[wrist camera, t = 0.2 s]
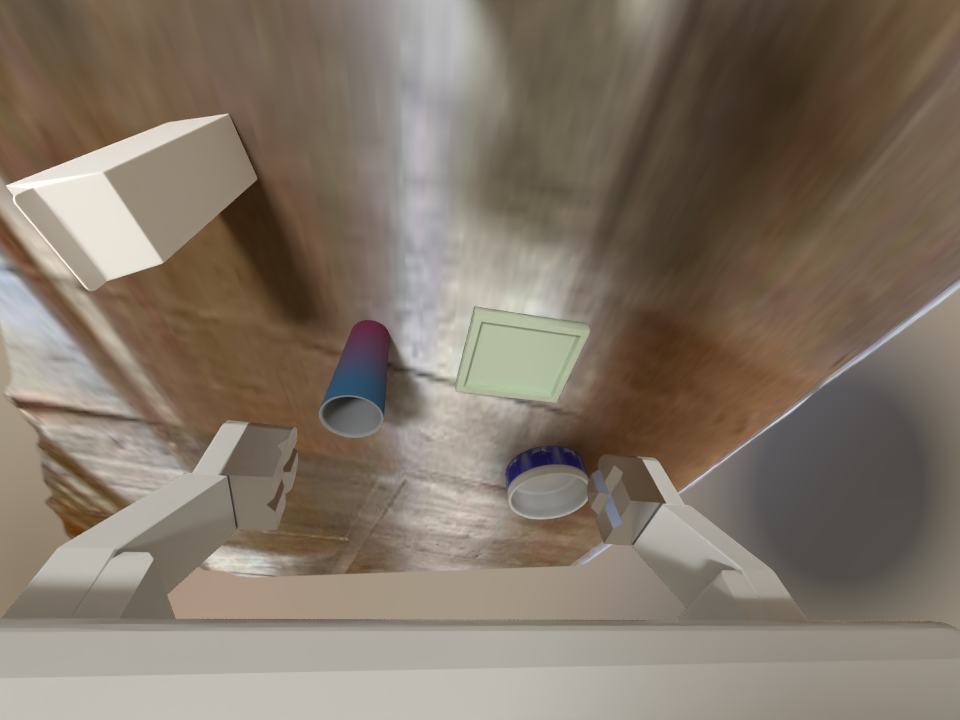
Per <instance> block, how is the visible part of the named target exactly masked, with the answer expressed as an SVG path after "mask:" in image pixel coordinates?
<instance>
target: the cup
mask: <svg viewBox="0 0 960 720" xmlns="http://www.w3.org/2000/svg"><path fill="white" fill-rule="evenodd" d="M388 347H389V333H388V331H387V329H386V328H385V327H384V326H383V325H382V324H380V323H378V322H376V321H371V320H365V321H361V322H359V323H357V324H356V325H355V326H354V327H353V329H352V331H351V333H350V336H349V338H348V341H347V343H346V346H345V348H344V351H343V353H342V356H341V358H340V360H339V363H338V365H337V368H336V370H335V373H334V375H333V378H332V380H331V383H330V385H329V388H328V390H327V393H326V395H325V397H324V400H323V402H322V405H321V407H320V411H319V418H320V420H321V422H322V424H323V425H324V426H325V427H326V428H327V429H328V430H329V431H331V432H333V433H335V434H337V435H340V436H343V437H348V438H362V437H367V436H370V435H372V434H374V433H376V432H377V431H378V430H380V428H381V427H382V425H383V423H384V410H385V395H386V379H387V363H388Z"/></svg>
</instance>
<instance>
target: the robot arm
mask: <svg viewBox="0 0 960 720" xmlns="http://www.w3.org/2000/svg"><path fill="white" fill-rule="evenodd" d="M296 440H297V431H296V428H295V427H289V426H280V425H271V424H262V423H253V422H251V423H249V422H240V421H231V420H228V421H227V422H225V423H224V424H223V425H222V426H221V428H220V429H219V431H218V433H217V434H216V436H215V437H214V439H213V441H212V442H211V444H210V445H209V447H208V449H207V450H206V452H205V453H204V455H203V457H202V458H201V460H200V461H199V463H198V465H197V466H196V468H195V469H194V471H193V473H184V474H182V475H181V476H179V477H177V478H176V479H174V480H172V481H170V482H169V483H167V484H165V485H164V486H162V487H160V488H159V489H157V490H155V491H153V492H152V493H150V494H148V495H147V496H145V497H143V498H142V499H140V500H138V501H137V502H135V503H133V504H131V505H130V506H128V507H126V508H125V509H123V510H121V511H120V512H118V513H116V514H114V515H113V516H111V517H109V518H108V519H106V520H104V521H103V522H101V523H99V524H98V525H96V526H94V527H92V528H91V529H89V530H87V531H86V532H84V533H82V534H81V535H79V536H77V537H75V538H74V539H72V540H70V541H69V542H67V543H65V544H64V545H62V546H60V547H59V548H58V549H57V550H56V551H55V553H54V554H53V555H52V556H51V557H50V559H49V560H48V561H47V562H46V564H45V565H44V566H43V567H42V568H41V570H40V571H39V572H38V574H37V575H36V576H35V577H34V578H33V580H32V581H31V582H30V583H29V585H28V586H27V587H26V588H25V589H24V591H23V592H22V593H21V594H20V595H19V597H18V598H17V599H16V600H15V602H14V603H13V604H12V605H11V607H10V608H9V609H8V610H7V612H6V613H5V614H4V615H3V616H2V618H0V720H960V629H958V628H956V627H954V626H952V625H949V624H946V623H942V622H935V621H807V619H806V618H805V616H804V615H803V613H802V612H801V611H800V609H799V608H798V606H797V605H796V603H795V602H794V600H793V599H792V597H791V596H790V595H789V593H788V592H787V590H786V589H785V587H784V586H783V584H782V583H781V582H780V580H779V579H778V577H777V576H776V574H775V573H774V572H773V571H772V570H771V569H770V568H769V567H768V566H766V565H765V564H764V563H762V562H761V561H760V560H759V559H757V558H756V557H755V556H754V555H752V554H751V553H750V552H748V551H747V550H746V549H745V548H743V547H742V546H740V545H739V544H738V543H737V542H736V541H734V540H733V539H732V538H731V537H729V536H728V535H727V534H725V533H724V532H723V531H721V530H720V529H719V528H718V527H716V526H715V525H714V524H713V523H711V522H710V521H709V520H708V519H706V518H705V517H704V516H702V515H701V514H700V513H699V512H697V511H696V510H695V509H693V508H692V507H691V506H687V505H684V503H683V501H682V500H681V498H680V497H679V495H678V493H677V491H676V490H675V488H674V486H673V485H672V483H671V481H670V480H669V478H668V476H667V475H666V473H665V471H664V470H663V468H662V466H661V465H660V463H659V461H658V460H656V459H655V458H651V457H635V456H624V455H611V454H604V455H603V456H601V457H600V459H599V461H598V463H597V464H598V467H599V470H597V471H596V472H594V473H593V474H591V476H590V479H589V481H588V485H587V497H588V501H589V504H590V507H591V508H592V509H593V510H594V511H595V512H596V513H597V514H598V517H597V520H596V523H597V526H598V529H599V531H600V534H601V537H602V539H603V542H604V544H616V545H630V546H633V549H634V550H635V551H636V552H637V553H638V554H639V555H640V557H641V558H642V559H643V560H644V561H645V562H646V563H647V564H648V566H649V567H650V568H651V569H652V570H653V571H654V572H655V574H656V575H657V576H658V577H659V578H660V579H661V580H662V581H663V583H664V584H665V585H666V586H667V587H668V588H669V589H670V591H671V592H672V593H673V594H674V595H675V596H676V597H677V598H678V600H679V601H680V602H681V603H682V604H683V605H684V606H685V607H686V609H685V610H684V612H682V614H681V615H680V616H679V617H678V618H677V619H676V620H420V619H419V620H417V619H415V620H414V619H411V620H410V619H408V620H405V619H402V620H401V619H395V620H394V619H377V620H376V619H176V618H175V615H174V613H173V610H172V607H171V604H170V602H169V599H168V596H167V594H168V593H170V592H171V591H172V590H173V589H174V588H175V587H176V586H177V585H178V584H179V583H181V582H182V581H183V580H184V579H185V578H186V577H187V576H188V575H189V574H190V573H191V572H193V571H194V570H195V569H196V568H197V567H198V566H199V565H200V564H201V563H203V562H204V561H205V560H206V559H207V558H208V557H209V556H210V555H211V554H212V553H214V552H215V551H216V550H217V549H218V548H219V547H220V546H221V545H222V544H223V543H225V542H226V541H227V540H228V539H229V538H230V537H231V536H232V535H233V534H234V533H236V532H237V530H236V529H258V530H277V527H278V525H279V522H280V519H281V516H282V514H283V511H284V508H285V494H286V493H287V492H289V491H290V490H291V488H292V485H293V482H294V479H295V474H296V470H297V461H298V451H297V450H296V449H295V448H294V445H295V443H296Z"/></svg>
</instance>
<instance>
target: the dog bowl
mask: <svg viewBox="0 0 960 720" xmlns="http://www.w3.org/2000/svg"><path fill="white" fill-rule="evenodd" d="M505 475H506V488H507V497H508V504H509V506H510V508H511V509H512V510H513V511H514V512H515V513H517V514H518V515H520V516H523V517H526V518H530V519H552V518H558V517H561V516H565V515H567V514H570V513H572V512H574V511H576V510H578V509H579V508H581V507H582V506H583V505H584V504H585V503H586V502H587V501H588V497H587V485H588V481H589V478H588V475H587V473H586V470H585V467H584V464H583V462H582V459H581V458H580V456H579V455H578V454H577V453H575V452H574V451H572V450H570V449H567V448H563V447H557V446H546V447H539V448H535V449H531V450H528V451H526V452H524V453H522V454H520V455H518V456H517V457H516V458H514V459H513V460H512V461H511V462H510V463H509V465H508V467H507V469H506V473H505Z"/></svg>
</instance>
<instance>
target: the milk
mask: <svg viewBox="0 0 960 720" xmlns="http://www.w3.org/2000/svg"><path fill="white" fill-rule="evenodd" d="M256 180H257V176H256V174H255V171H254V169H253V167H252V165H251V162H250V160H249V158H248V156H247V153H246V151H245V149H244V147H243V144H242V142H241V140H240V138H239V135H238V133H237V131H236V129H235V126H234V124H233V122H232V120H231V117H230V115H229V114H223V115H216V116H209V117H202V118H196V119H189V120H182V121H175V122H168V123H165V124H163V125H160V126H158V127H155V128H153V129H150V130H147V131H145V132H142V133H140V134H137V135H135V136H132V137H129V138H127V139H124V140H122V141H119V142H117V143H114V144H112V145H109V146H106V147H104V148H101V149H99V150H96V151H94V152H91V153H88V154H86V155H83V156H81V157H78V158H76V159H73V160H71V161H68V162H65V163H63V164H60V165H58V166H55V167H53V168H50V169H48V170H45V171H42V172H40V173H37V174H35V175H32V176H30V177H27V178H24V179H22V180H19V181H17V182H14V183H12V184H9V185H7V186H6V187H7V188H8V189H9V191H10V192H11V193H12V194H13V195H14V197H13V202H14V204H15V205H16V206H17V207H18V208H19V210H20V211H21V212H22V213H23V214H24V216H25V217H26V218H27V219H28V220H29V221H30V223H31V224H32V225H33V226H34V227H35V229H36V230H37V231H38V232H39V233H40V235H41V236H42V237H43V238H44V239H45V240H46V242H47V243H48V244H49V245H50V246H51V248H52V249H53V250H54V251H55V252H56V254H57V255H58V256H59V257H60V258H61V259H62V261H63V262H64V263H65V264H66V265H67V267H68V268H69V269H70V270H71V271H72V273H73V274H74V275H75V276H76V277H77V278H78V280H79V281H80V282H81V283H82V284H83V286H84V287H85V288H86V289H87V290H89V291H95V290H96V289H98V288H99V287H100V286H102V285H103V284H104V283H105V282H107V281H109V280H113V279H116V278H119V277H122V276H125V275H128V274H131V273H135V272H138V271H141V270H144V269H147V268H150V267H153V266H157V265H160V264H162V263H164V262H165V261H166V260H167V259H168V258H169V257H171V256H172V255H173V254H174V253H175V252H176V251H177V250H178V249H180V248H181V247H182V246H183V245H184V244H185V243H186V242H188V241H189V240H190V239H191V238H192V237H193V236H194V235H195V234H197V233H198V232H199V231H200V230H201V229H202V228H203V227H204V226H206V225H207V224H208V223H209V222H210V221H211V220H212V219H213V218H215V217H216V216H217V215H218V214H219V213H220V212H221V211H222V210H224V209H225V208H226V207H227V206H228V205H229V204H230V203H231V202H233V201H234V200H235V199H236V198H237V197H238V196H239V195H240V194H242V193H243V192H244V191H245V190H246V189H247V188H248V187H250V186H251V185H252V184H253V183H254V182H255V181H256Z"/></svg>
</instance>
